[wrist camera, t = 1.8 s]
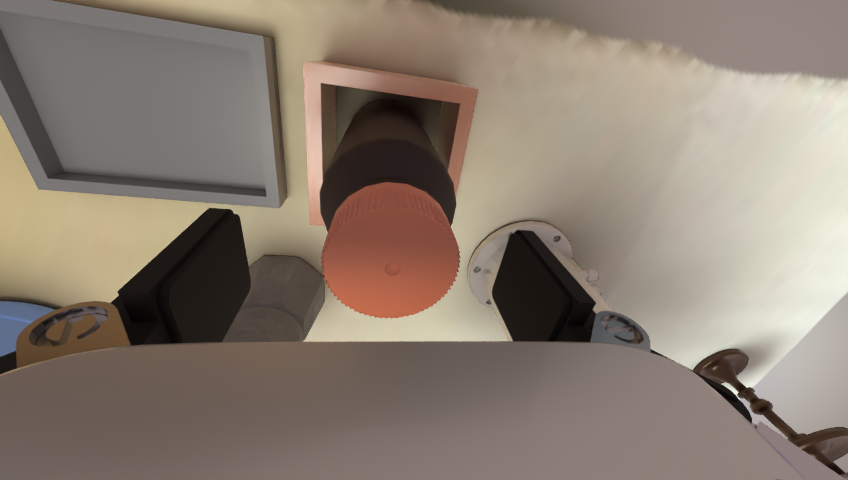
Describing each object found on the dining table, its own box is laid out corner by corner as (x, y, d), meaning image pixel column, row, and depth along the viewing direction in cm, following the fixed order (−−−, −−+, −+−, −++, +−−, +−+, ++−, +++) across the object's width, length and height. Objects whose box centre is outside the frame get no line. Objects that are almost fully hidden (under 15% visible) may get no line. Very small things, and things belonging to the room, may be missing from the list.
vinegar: (342, 100, 26) (264, 183, 9) (422, 98, 26) (495, 169, 9) (353, 178, 29) (313, 345, 12) (424, 174, 30) (479, 327, 13)
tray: (274, 37, 23) (263, 35, 21) (287, 197, 29) (279, 208, 27) (-20, -12, 20) (-68, -20, 18) (66, 178, 26) (38, 189, 24)
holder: (456, 82, 26) (478, 89, 20) (435, 201, 31) (447, 234, 26) (322, 61, 24) (302, 61, 18) (324, 191, 30) (310, 224, 24)
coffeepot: (323, 237, 32) (269, 400, 17) (355, 301, 37) (336, 473, 22) (185, 275, 33) (9, 469, 17) (235, 334, 37) (133, 525, 22)
